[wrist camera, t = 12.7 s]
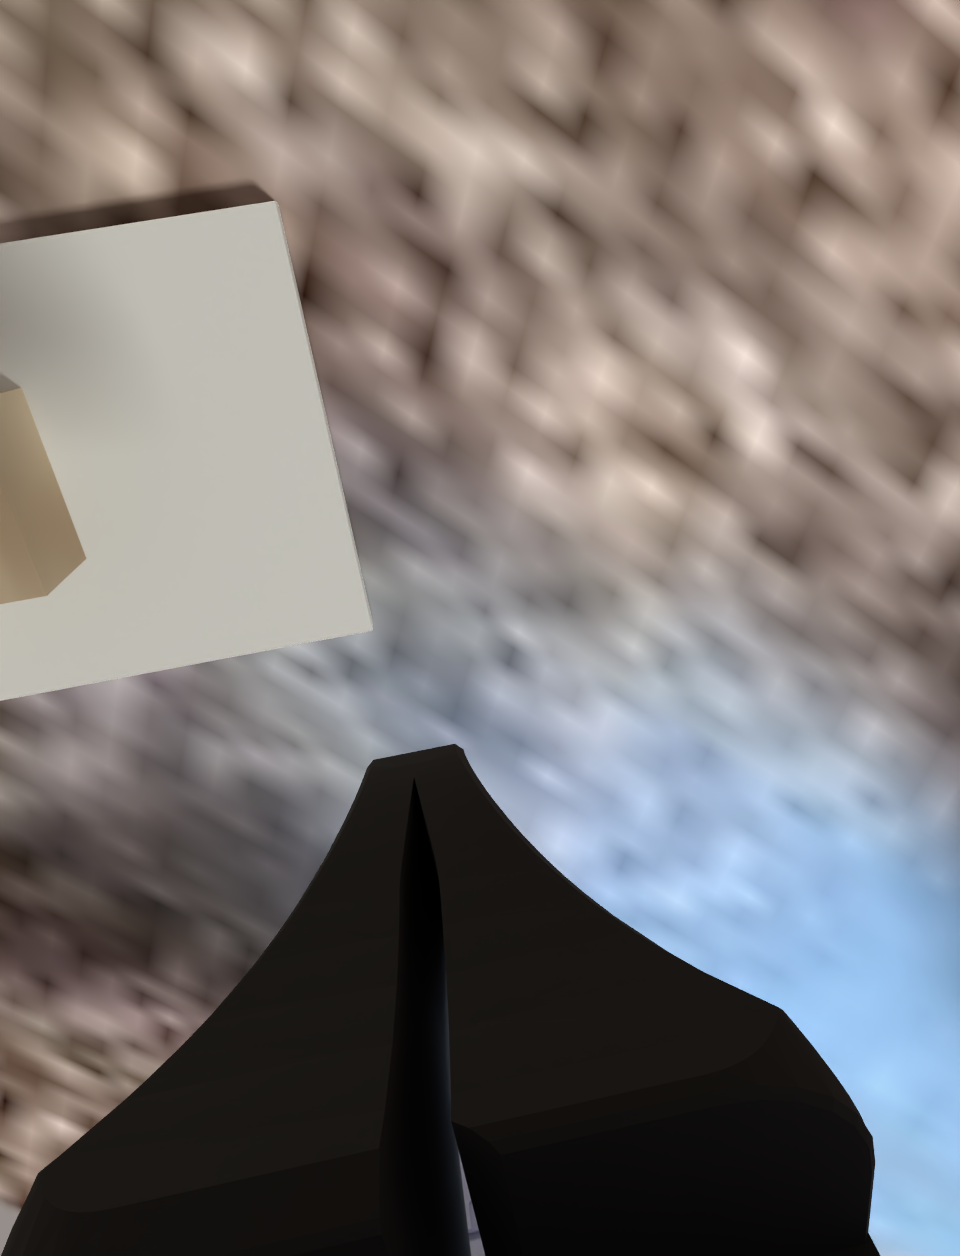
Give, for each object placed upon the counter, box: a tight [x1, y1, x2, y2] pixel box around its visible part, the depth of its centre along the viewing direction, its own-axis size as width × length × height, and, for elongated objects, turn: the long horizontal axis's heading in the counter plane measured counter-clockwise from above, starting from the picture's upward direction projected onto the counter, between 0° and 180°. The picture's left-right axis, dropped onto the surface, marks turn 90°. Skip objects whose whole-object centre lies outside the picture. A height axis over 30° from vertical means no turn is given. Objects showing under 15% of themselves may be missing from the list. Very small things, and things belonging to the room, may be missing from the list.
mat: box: [0, 201, 373, 701], centre depth 18 cm, size 10×14×1 cm
